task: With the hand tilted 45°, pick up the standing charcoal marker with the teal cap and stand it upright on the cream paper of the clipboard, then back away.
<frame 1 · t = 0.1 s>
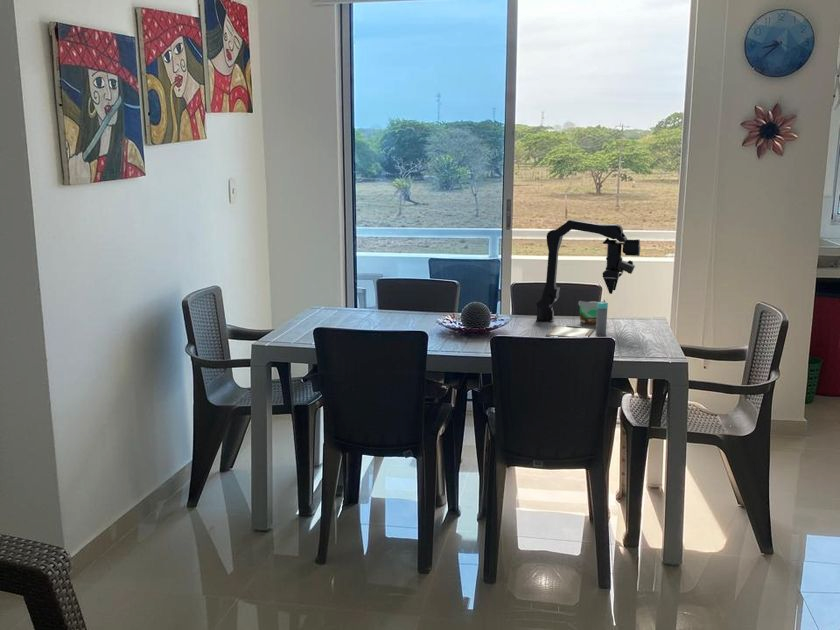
hand: (612, 291, 341), 15 cm above the table, tool pointing down, fingers open, 9 cm apart
clipboard: (570, 333, 329), on the table
marker: (600, 335, 327), on the table
food container: (593, 324, 347), on the table
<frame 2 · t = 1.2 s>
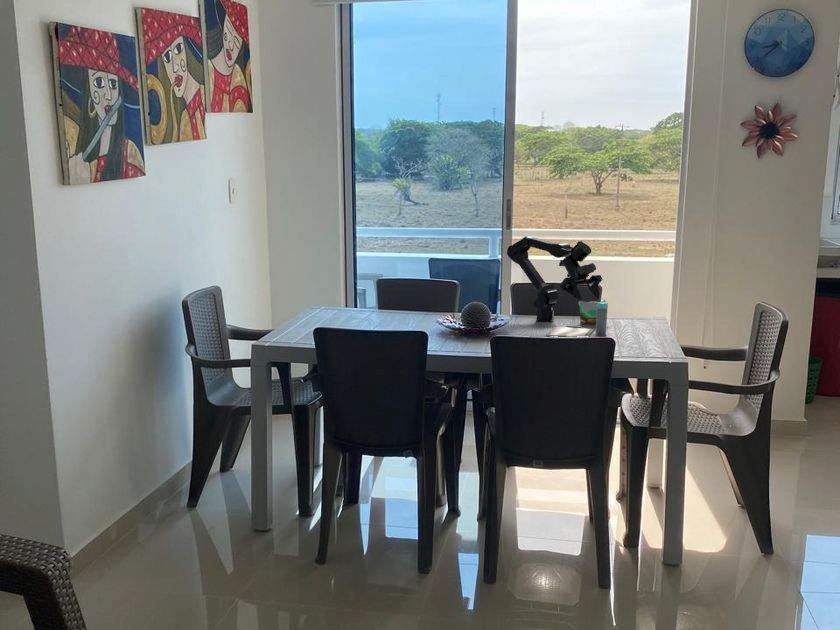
hand: (590, 299, 330), 13 cm above the table, tool tilted 45°, fingers open, 9 cm apart
nothing on the table moved.
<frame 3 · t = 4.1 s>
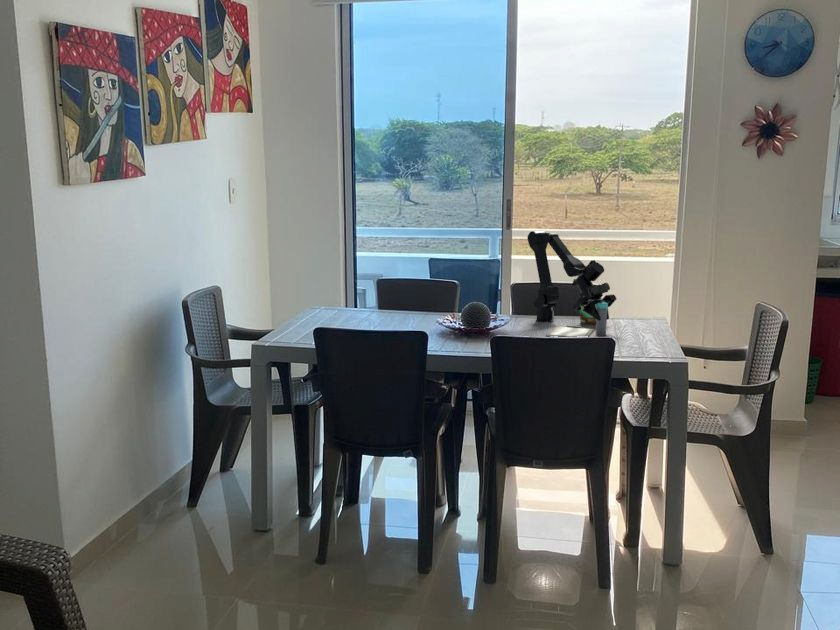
hand: (604, 319, 324), 7 cm above the table, tool tilted 45°, fingers closed on marker, 4 cm apart
marker: (600, 335, 327), on the table, touching gripper
everything else where it was.
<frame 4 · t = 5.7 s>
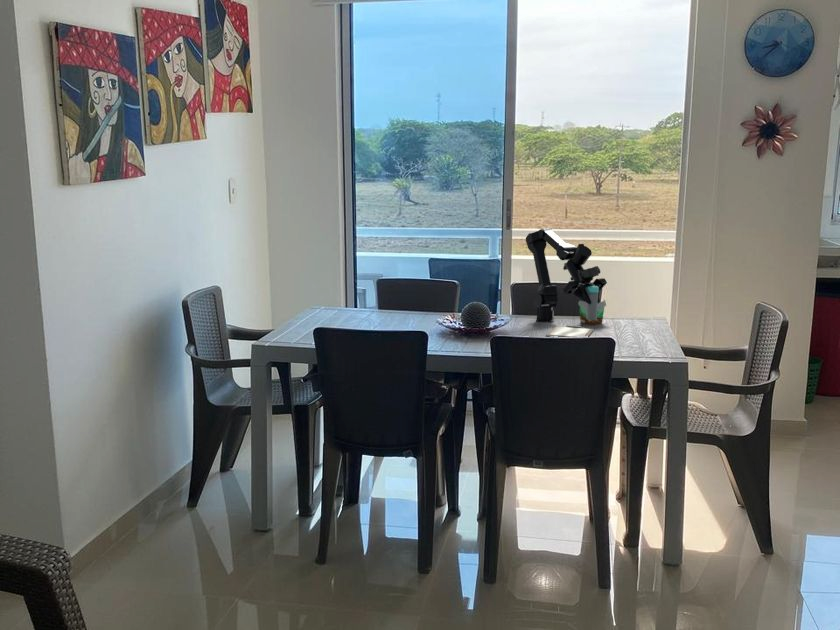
hand: (594, 303, 321), 13 cm above the table, tool tilted 45°, fingers closed on marker, 4 cm apart
marker: (591, 319, 324), point 7 cm above the table, touching gripper
everything else where it was.
when the fingers open (9 cm above the table, at t = 7.4 s): marker drops 1 cm, resting on clipboard.
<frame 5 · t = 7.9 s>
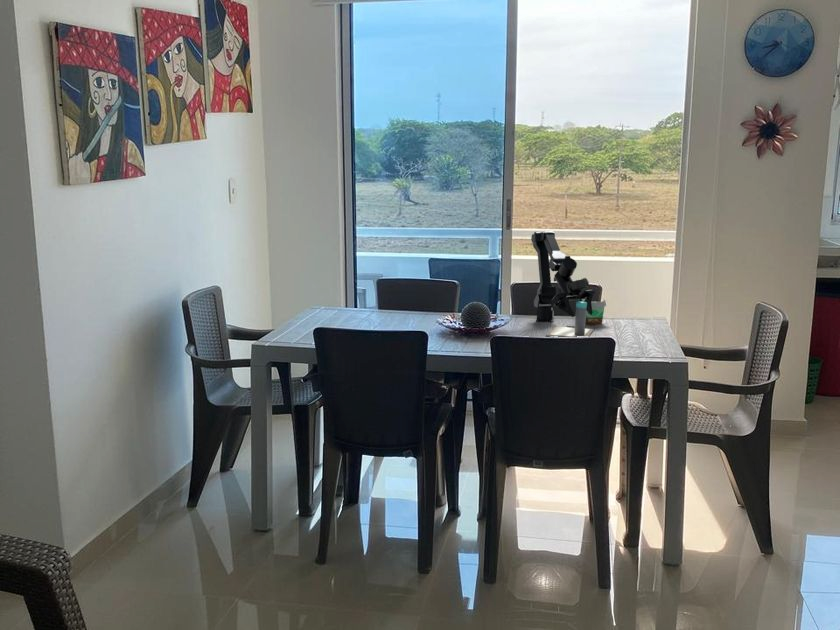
hand: (582, 315, 320), 9 cm above the table, tool tilted 45°, fingers open, 9 cm apart
marker: (579, 334, 323), point 1 cm above the table, touching clipboard
everything else where it was.
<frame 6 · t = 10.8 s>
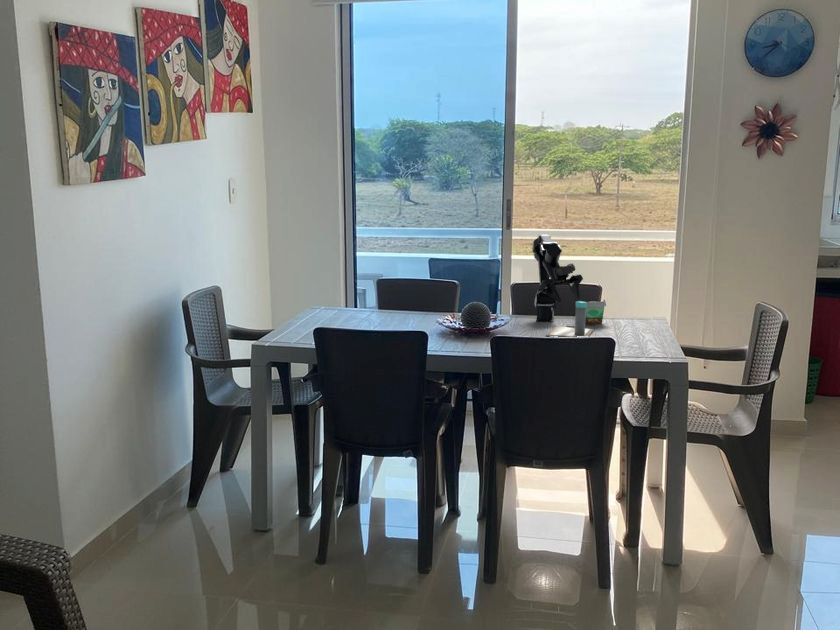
hand: (569, 300, 328), 13 cm above the table, tool tilted 45°, fingers open, 9 cm apart
nothing on the table moved.
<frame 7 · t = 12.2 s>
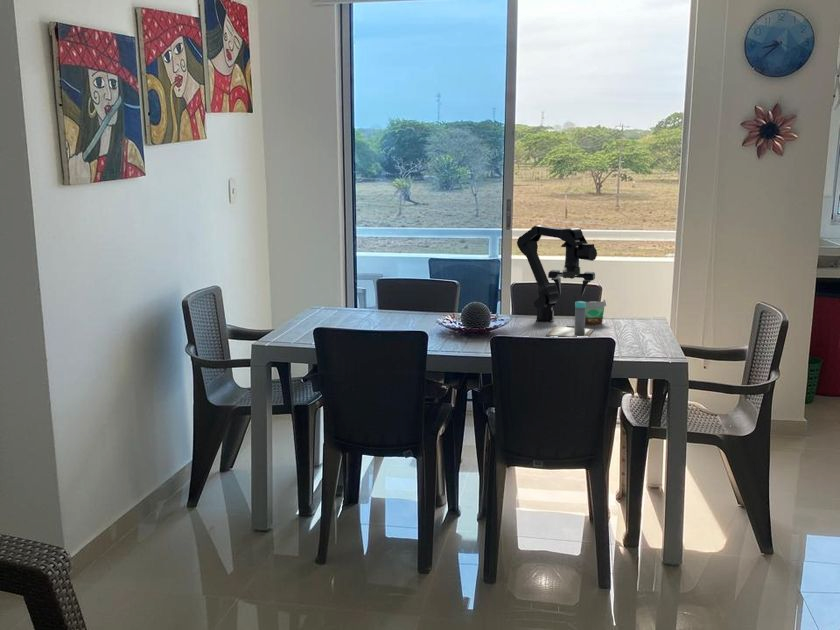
hand: (570, 295, 341), 13 cm above the table, tool pointing down, fingers open, 9 cm apart
nothing on the table moved.
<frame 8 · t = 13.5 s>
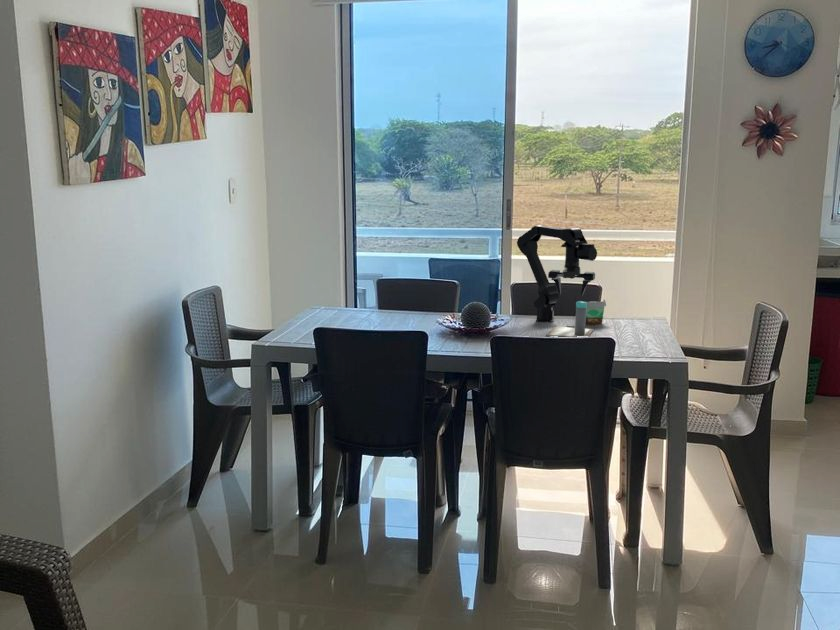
hand: (570, 295, 341), 13 cm above the table, tool pointing down, fingers open, 9 cm apart
nothing on the table moved.
at the end: marker inside the target area on the clipboard (5.9 cm from its centre), point 0.9 cm above the clipboard's base; marker tilted 1°; the gripper is holding nothing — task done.
